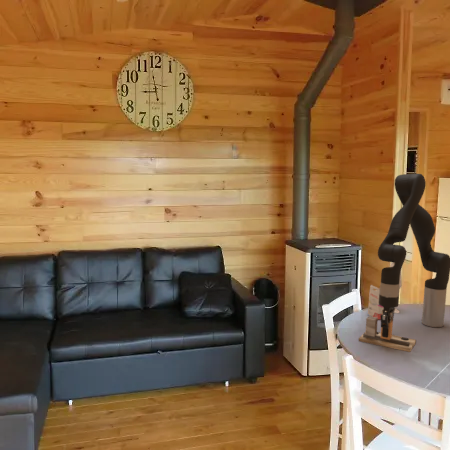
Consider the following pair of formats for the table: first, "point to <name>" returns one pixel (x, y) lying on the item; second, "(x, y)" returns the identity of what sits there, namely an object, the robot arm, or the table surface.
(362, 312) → the table surface
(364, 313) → the table surface
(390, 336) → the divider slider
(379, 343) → the pitch plate
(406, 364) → the table surface
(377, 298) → the ink cartridge box
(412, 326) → the table surface
